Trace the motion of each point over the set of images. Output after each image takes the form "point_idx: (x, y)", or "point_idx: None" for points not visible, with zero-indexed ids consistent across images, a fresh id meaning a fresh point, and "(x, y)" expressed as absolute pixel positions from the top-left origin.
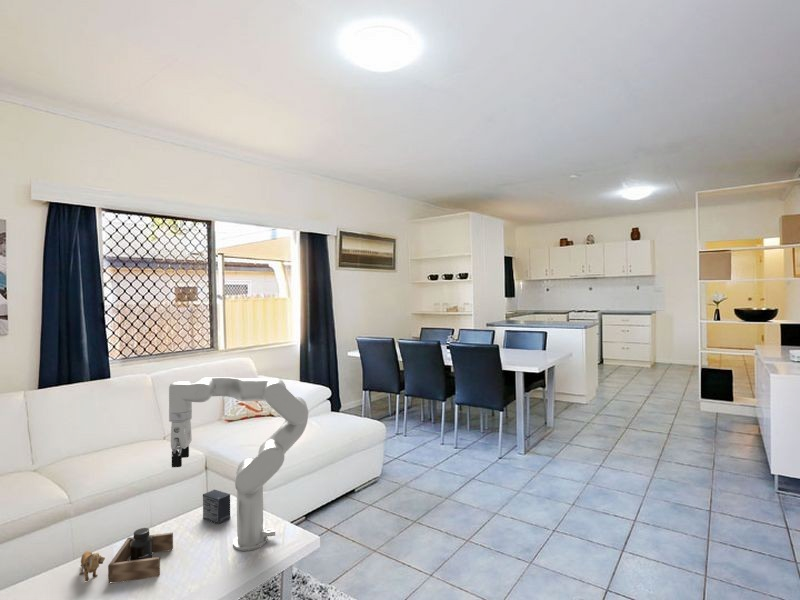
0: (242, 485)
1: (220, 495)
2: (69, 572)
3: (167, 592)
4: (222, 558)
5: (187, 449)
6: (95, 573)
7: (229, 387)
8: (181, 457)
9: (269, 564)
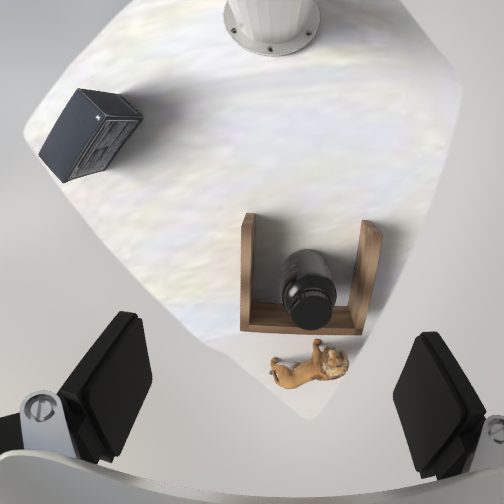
0: None
1: (80, 118)
2: None
3: (431, 192)
4: (337, 78)
5: (102, 381)
6: (316, 345)
7: None
8: (469, 395)
9: None
